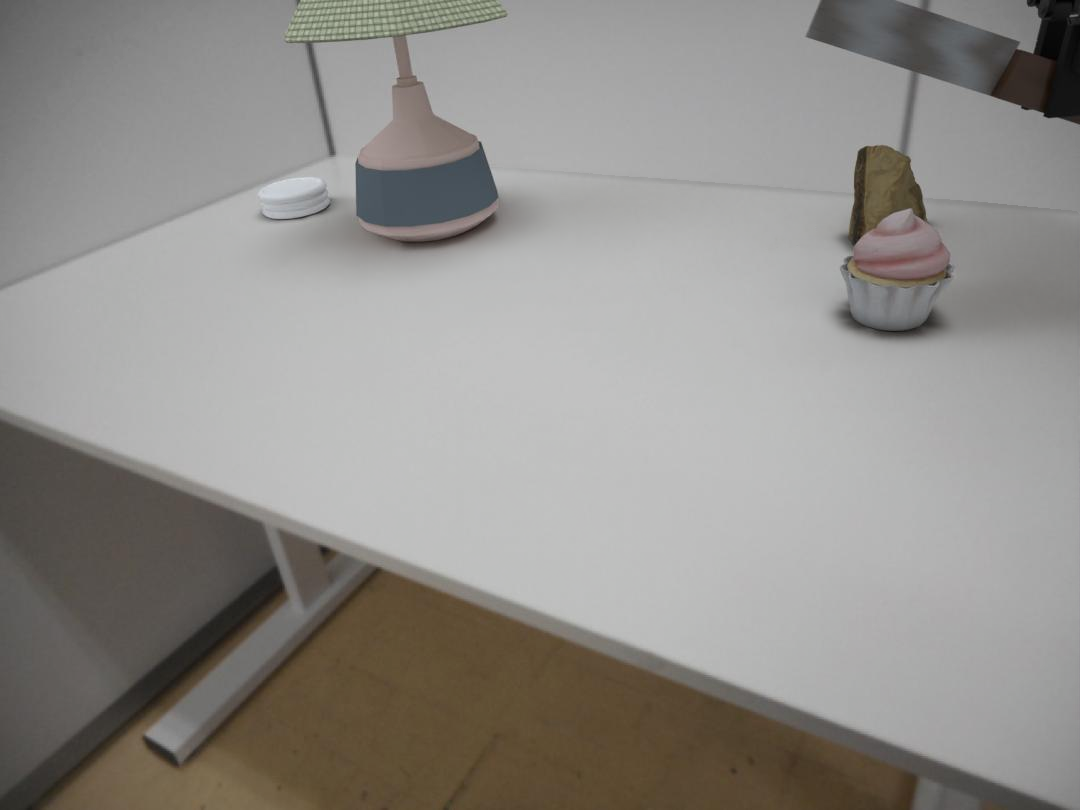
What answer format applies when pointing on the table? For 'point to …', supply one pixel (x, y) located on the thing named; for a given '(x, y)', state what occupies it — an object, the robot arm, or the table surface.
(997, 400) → the table surface
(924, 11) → the knife
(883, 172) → the rock
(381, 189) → the desk lamp
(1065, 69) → the robot arm
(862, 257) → the cupcake
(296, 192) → the white layered round disc
